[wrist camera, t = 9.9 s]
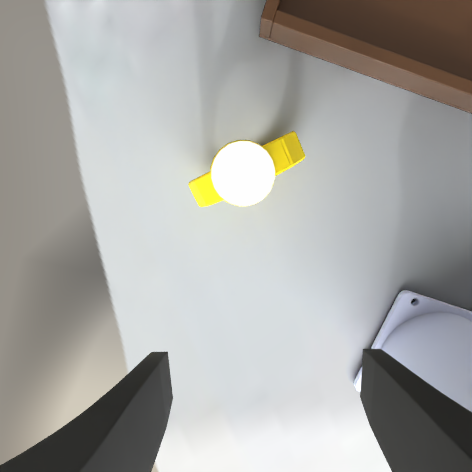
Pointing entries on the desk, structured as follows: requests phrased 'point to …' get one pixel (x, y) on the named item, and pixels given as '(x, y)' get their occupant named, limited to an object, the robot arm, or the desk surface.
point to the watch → (246, 171)
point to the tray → (384, 41)
